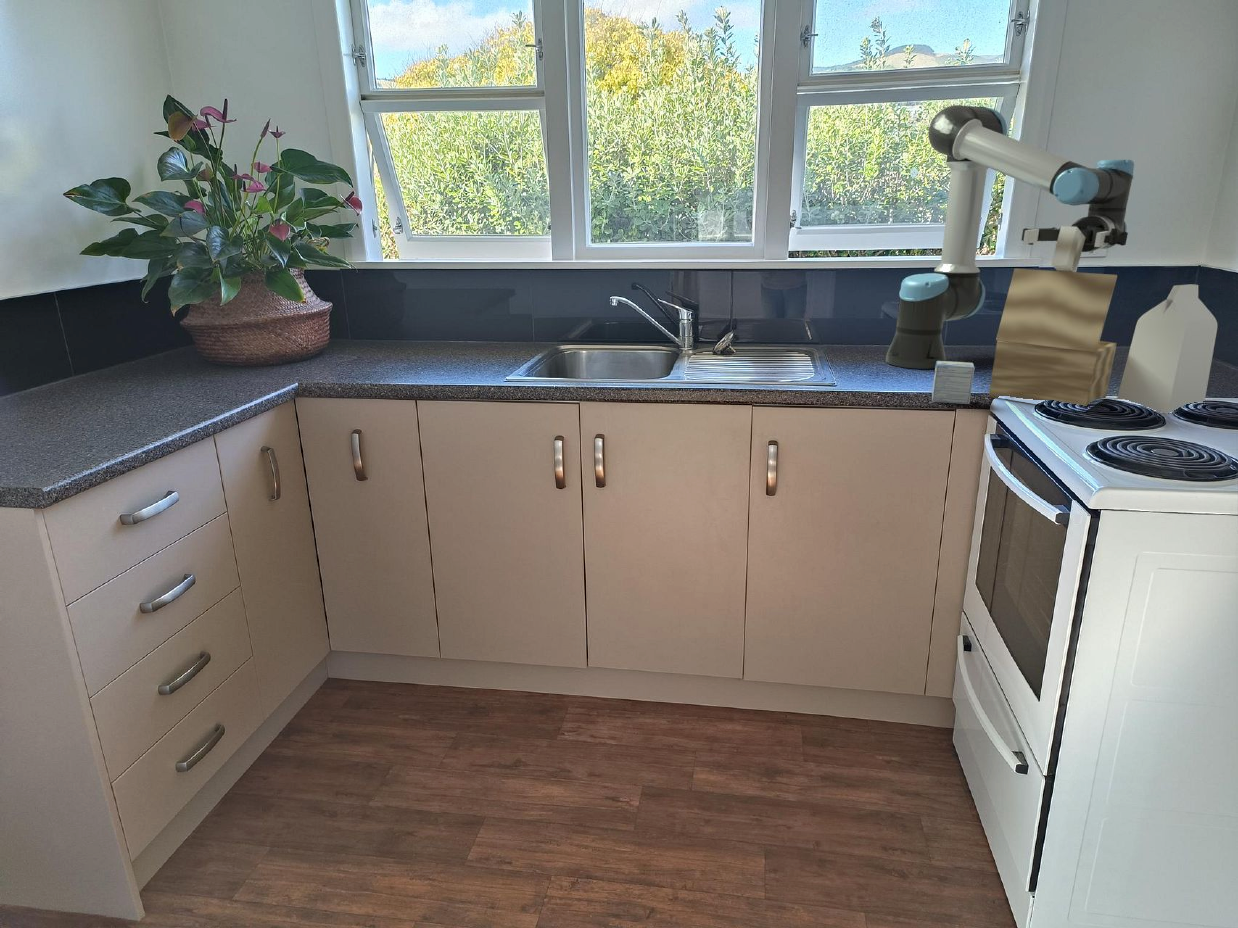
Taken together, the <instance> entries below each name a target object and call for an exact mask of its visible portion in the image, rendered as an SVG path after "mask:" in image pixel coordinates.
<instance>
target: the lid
mask: <svg viewBox="0 0 1238 928" xmlns="http://www.w3.org/2000/svg"><path fill="white" fill-rule="evenodd" d="M1060 227H1061V229H1060V233H1059V236H1058V240H1057V241H1056V243H1055V244H1056V245H1055V249H1054V253H1053V256H1052V259H1051V264H1050V265H1051V266H1052V267H1053V268H1054V269H1055V270H1046V269H1043V270H1042V269H1029V268H1028V269H1027V268H1014V269H1013V274H1012V277H1011V282H1010V285H1009V287H1008V292H1007V297H1006V299H1005V303H1004V308H1003V312H1002V315H1001V320H1000V323H999V327H998V331H997V334H996V338H995V340H996V342H997V341H1004V342H1012V343H1020V344H1028V345H1037V346H1045V347H1053V348H1061V349H1070V350H1078V351H1086V352H1094V353H1096V352H1097V349H1098V345H1099V341H1101V337H1102V334H1103V330H1104V327H1105V322H1106V320H1107V315H1108V312H1109V308H1110V305H1111V301H1112V297H1113V295H1114V294H1113V293H1114V290H1115V287H1116V282H1117V279H1118V275H1117V274H1109V273H1108V274H1107V273H1106V274H1104V273H1092V272H1090V273H1089V272H1077V270H1078V268H1079V267H1078V266H1079V264H1080V259H1081V257H1082V256H1081V255H1082V253H1083V252H1082V249H1083V245H1084V241H1085V238H1086V237H1085V236H1084V235H1083V234H1082V232H1081V231H1080V230H1079V229H1078V227H1071V225H1069V226H1064V225H1063V226H1060Z"/></svg>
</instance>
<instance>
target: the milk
mask: <svg viewBox="0 0 1238 928" xmlns="http://www.w3.org/2000/svg"><path fill="white" fill-rule="evenodd" d="M1169 292H1170V293H1169V294H1168V296H1167V298H1166V299H1165V300H1163V301H1161V302H1160V303H1158V304H1157V305H1156V306H1154V307H1152V308H1151V309H1149V310H1148V311H1146V312H1145V313H1143V314H1142V315H1141V316H1140V317H1139V318H1138V319H1137V322H1136V325H1135V327H1134V328H1135V329H1134V332H1133V336H1132V340H1131V344H1130V347H1129V350H1128V351H1129V352H1128V355H1127V359H1126V364H1125V367H1124V371H1123V374H1122V379H1121V381H1120V385H1119V390H1118V392H1117V397H1116V400H1117V399H1125V400H1129V401H1131V402H1135V403H1138V404H1141V405H1143V406H1145V407H1149V408H1151V409H1153V410H1156V411H1157V412H1156V413H1159V412H1162V413H1161V414H1163V413H1165V414H1164V415H1169V414H1168V413H1170V412H1173V411H1174V410H1176V409H1178V408H1179V407H1182V406H1184V405H1186V404H1190V403H1194V402H1203V401H1205V400H1206V396H1207V395H1206V394H1207V391H1208V390H1207V389H1208V384H1209V378H1210V372H1211V367H1212V360H1213V355H1214V348H1215V344H1216V337H1217V331H1218V321H1217V319H1216V317H1215V316H1214V315H1213V313H1212V312H1211V311H1210V310H1209V309H1208V308H1207V306H1206V305H1205V304H1204V303H1203V301H1202V300H1201V299H1200V298H1199V284H1194V283H1193V284H1190V283H1189V284H1180V285H1179V284H1177V285H1173V286H1172V288H1171V290H1170V291H1169Z"/></svg>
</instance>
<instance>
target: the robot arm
mask: <svg viewBox="0 0 1238 928" xmlns="http://www.w3.org/2000/svg"><path fill="white" fill-rule="evenodd" d="M1007 126H1008V125H1007V123H1006V119H1005V117H1004V116H1003V115H1002V114H1001V113H1000V111H997V110H996V109H993V108H990V107H986V106H975V105H973V106H971V105H962V104H961V105H960V104H956V105H955V104H953V105H950V106H947V107H944V108H943V109H942V110H940V111H938V112H937V114H935V116H934V117H933V118H932V120H931V121H930V124H929V127H928V132H927V133H928V141H929V143H930V145H931V147H932V149H934V151H936V152H938V153H940V154H942V155H945V156H946V165H947V167H948V168H949V169H950V170H951V172H950V179H949V182H950V183H949V189H948V197H947V206H946V214H945V215H946V216H945V221H944V222H945V225H944V232H943V240H942V241H943V242H942V251H941V258H940V263H939V264H938V266H936V268H934V270H933V273H932V272H931V273H929V272H927V273H918V274H913V275H909V276H907V277H905V278H904V279H902V282H901V283H900V290H899V295H898V297H899V299H898V309H897V317H896V318H897V319H896V326H895V327H896V328H895V334H894V337H893V339H892V341H891V344H890V346H889V348H888V350H887V352H886V357H885V362H886V363H887V364H889V365H892V366H895V367H901V368H908V369H918V370H919V369H921V370H922V369H923V370H927V369H928V370H929V369H935V367H936V361H946V352H945V347H944V343H943V338H942V333H943V326H944V322H948V321H961V320H964V319H966V318H968V317H971V316H973V315H975V314H976V313H978V311H979V310H980V309H981V308H982V306H983V304H984V302H985V298H986V288H985V285H984V283H983V281H982V280H981V279H980V273H981V270H980V269H979V267H978V266H977V265H976V258H977V257H976V256H977V249H978V243H979V242H978V240H979V233H980V226H981V220H982V219H981V217H982V211H983V202H984V195H985V194H984V193H985V186H986V179H987V171H988V169H990V170H994V171H996V172H999V173H1001V174H1003V175H1005V176H1008V177H1010V178H1013V179H1015V180H1016V181H1017V180H1018V181H1020V182H1022V183H1024V184H1027V185H1029V186H1031V187H1034V188H1036V189H1038V190H1041V191H1044V192H1047V193H1048V194H1051V195H1053V196H1055V198H1056V200H1057V201H1058V202H1059V203H1062V204H1064V205H1070V206H1073V207H1074V206H1080V205H1081V206H1082V205H1088V208H1087V209H1088V210H1087V216H1084V217H1081V218H1079V219H1077V220H1075V222H1073V223H1072V225H1070V227H1078V229H1079V230H1080V231H1081V232H1082V234H1083V235H1084V236H1085V237H1086V238H1085V241H1084V245H1083V249H1082V252H1081V253H1089V254H1093V253H1094V251H1097V250H1101V249H1102V250H1104V249H1111V248H1112V247H1114V246H1116V245H1117V246H1118V245H1120V246H1121V247H1122V246H1126V244H1127V240H1128V235H1129V233H1128V232H1127V231H1128V229H1127V227H1128V226H1127V222H1126V221H1125V219H1126V215H1127V206H1128V201H1129V197H1130V192H1131V186H1132V181H1133V179H1134V171H1135V170H1134V169H1135V162H1134V161H1133V160H1132V159H1102V160H1099V161H1098V162H1097V164H1096V167H1095V168H1094V167H1093V168H1092V167H1087V166H1085V165H1082V164H1080V163H1078V162H1073V161H1071V160H1069V159H1067V158H1064V157H1061V156H1060V155H1056V154H1053V153H1052V152H1049V151H1046V150H1043V149H1041V148H1039V147H1036V146H1033V145H1031V144H1028V143H1026V142H1023V141H1020V140H1018V139H1015V138H1013V137H1011V136H1009V135H1008V136H1007V133H1008V127H1007ZM1060 229H1061V226H1060V227H1059V228H1058V227H1049V228H1048V227H1047V228H1046V227H1045V228H1027V227H1026V228H1022V233H1021V242H1022V244H1025V245H1029V246H1033V245H1034V243H1038V242H1057V240H1058V236H1059V233H1060Z"/></svg>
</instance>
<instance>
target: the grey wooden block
mask: <svg viewBox="0 0 1238 928" xmlns="http://www.w3.org/2000/svg"><path fill="white" fill-rule="evenodd" d="M974 373H975V365H974V363H973V362H965V361H947V360H945V361H936V367H935V368H934V376H933V384H932V391H931V392H932V393H931V401H932V403H945V404H946V403H947V404H959V405H960V404H962V405H970V404H971V395H972V388H973V381H974V375H975V374H974Z"/></svg>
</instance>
